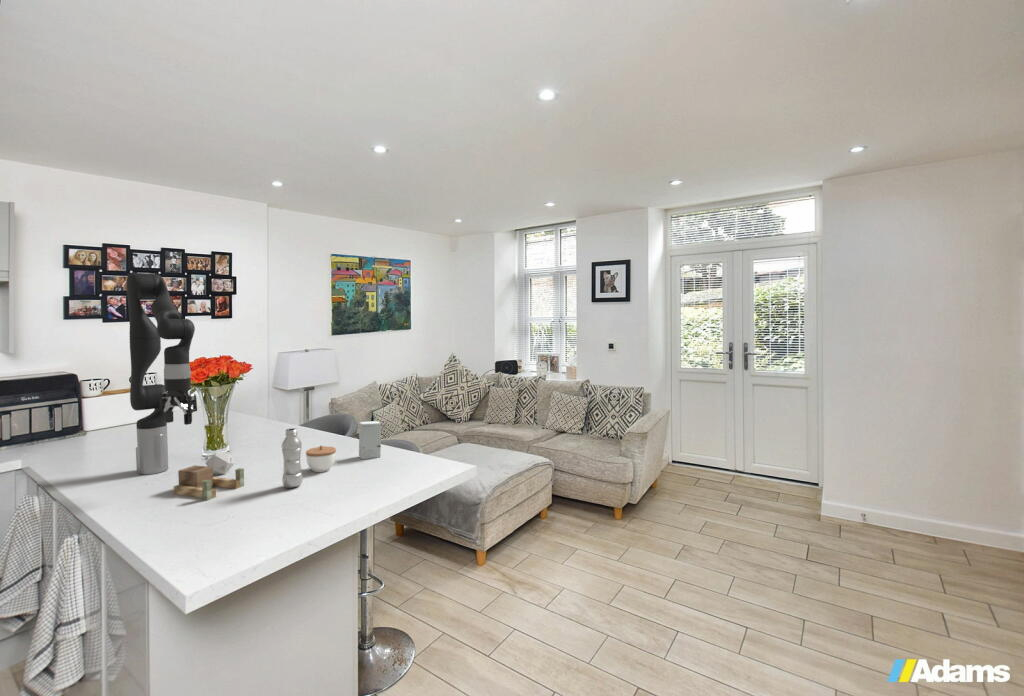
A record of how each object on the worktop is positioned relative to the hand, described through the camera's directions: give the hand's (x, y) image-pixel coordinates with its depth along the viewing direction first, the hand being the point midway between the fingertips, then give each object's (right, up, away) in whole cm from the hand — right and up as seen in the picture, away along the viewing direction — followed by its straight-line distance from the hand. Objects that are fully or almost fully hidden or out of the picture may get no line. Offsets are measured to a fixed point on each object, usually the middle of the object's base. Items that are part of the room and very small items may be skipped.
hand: (178, 423), depth 163 cm
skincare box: (+55, -20, +37) cm, 70 cm away
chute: (+12, -22, -3) cm, 26 cm away
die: (+5, -22, +15) cm, 27 cm away
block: (+8, -22, -2) cm, 23 cm away
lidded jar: (+42, -21, +19) cm, 51 cm away
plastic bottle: (+39, -22, 0) cm, 45 cm away
